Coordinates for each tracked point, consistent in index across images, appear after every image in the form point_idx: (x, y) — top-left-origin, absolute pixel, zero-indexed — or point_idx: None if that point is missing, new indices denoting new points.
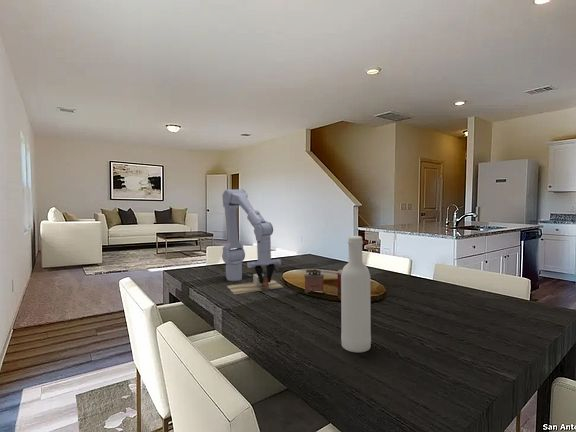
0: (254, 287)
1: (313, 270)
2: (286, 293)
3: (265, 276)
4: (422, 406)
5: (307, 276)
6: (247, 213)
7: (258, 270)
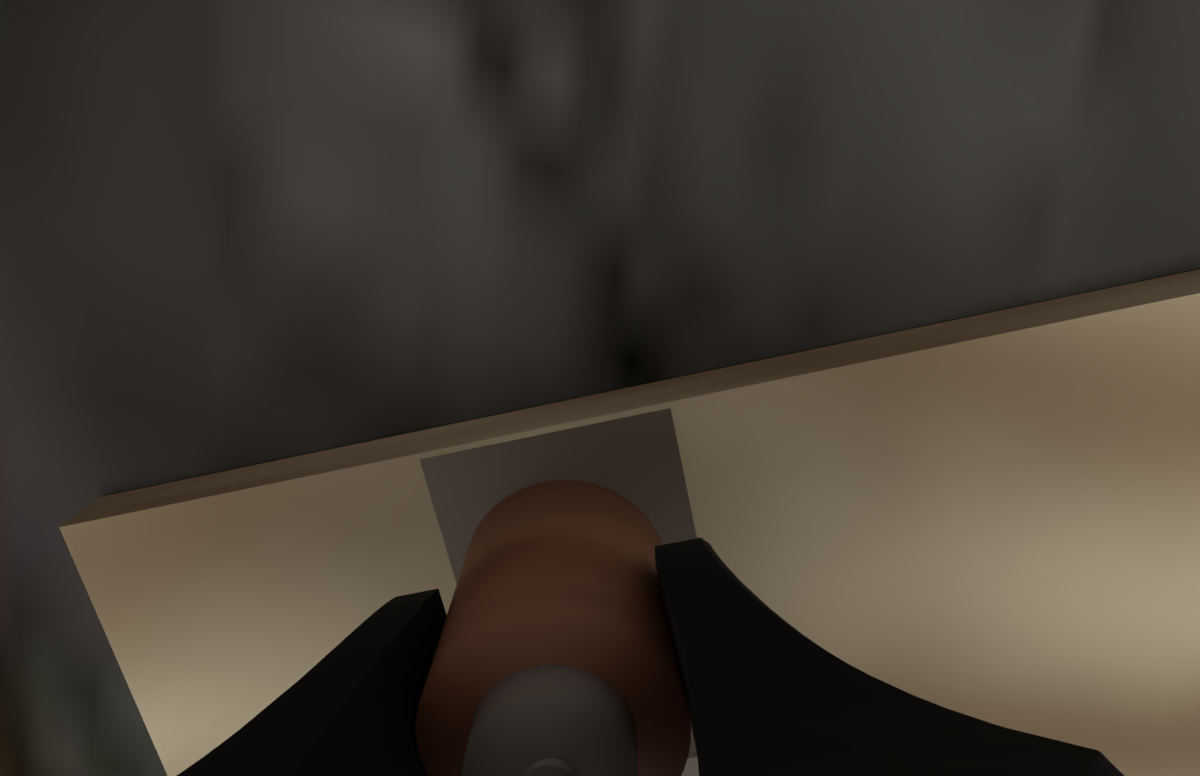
0: None
1: None
2: (41, 201)
3: (526, 736)
4: None
5: None
6: None
7: (1041, 751)
